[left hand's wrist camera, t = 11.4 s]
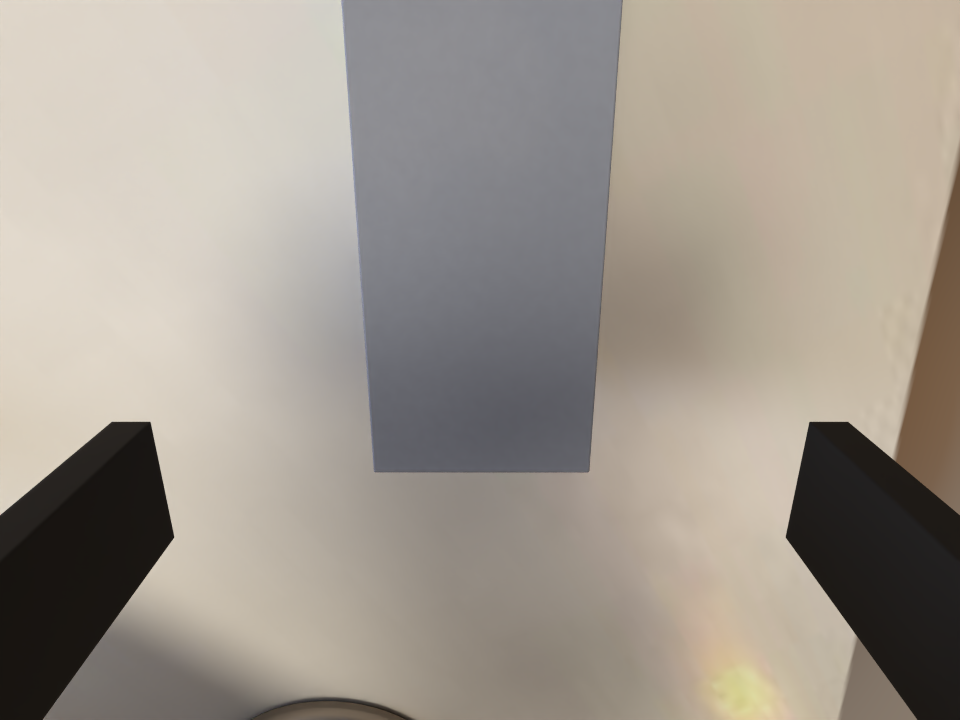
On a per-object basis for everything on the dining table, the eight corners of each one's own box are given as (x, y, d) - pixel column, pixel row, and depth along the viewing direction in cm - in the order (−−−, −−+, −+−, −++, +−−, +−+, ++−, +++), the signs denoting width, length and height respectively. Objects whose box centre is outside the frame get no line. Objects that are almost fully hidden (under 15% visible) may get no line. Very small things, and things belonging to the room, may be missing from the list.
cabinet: (389, -116, 22) (321, -286, 13) (573, -116, 22) (643, -287, 13) (409, 352, 29) (373, 473, 19) (553, 353, 29) (589, 473, 19)
